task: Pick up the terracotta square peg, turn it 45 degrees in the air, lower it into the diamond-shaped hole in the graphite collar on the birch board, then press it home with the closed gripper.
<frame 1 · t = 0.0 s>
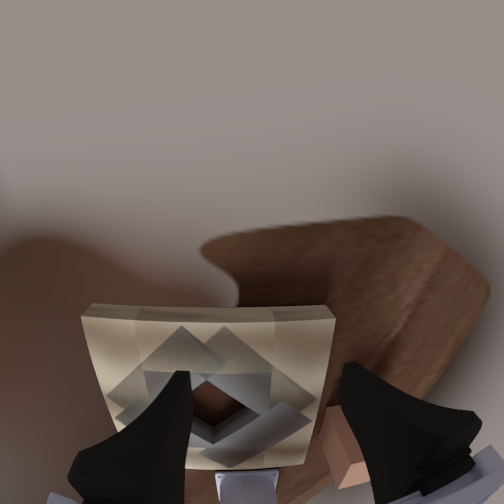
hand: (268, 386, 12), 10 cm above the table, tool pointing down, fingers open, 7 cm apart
peg: (343, 418, 26), on the table
socket board: (210, 397, 24), on the table
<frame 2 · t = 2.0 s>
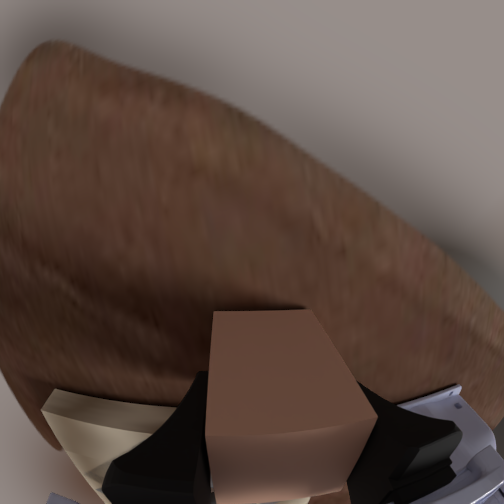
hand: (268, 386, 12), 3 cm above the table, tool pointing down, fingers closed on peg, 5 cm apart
peg: (261, 351, 15), on the table, touching gripper
socket board: (194, 477, 18), on the table
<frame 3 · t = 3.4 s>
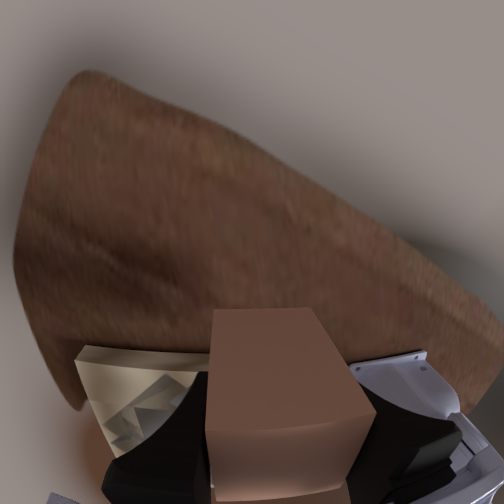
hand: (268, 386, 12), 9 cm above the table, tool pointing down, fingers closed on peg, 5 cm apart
peg: (261, 349, 15), point 6 cm above the table, touching gripper
socket board: (197, 427, 24), on the table
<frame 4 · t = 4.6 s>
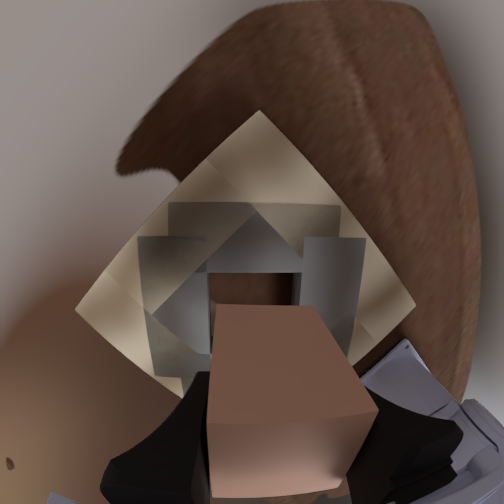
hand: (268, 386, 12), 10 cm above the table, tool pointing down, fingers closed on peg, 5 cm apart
peg: (262, 346, 15), point 7 cm above the table, touching gripper
socket board: (250, 301, 21), on the table
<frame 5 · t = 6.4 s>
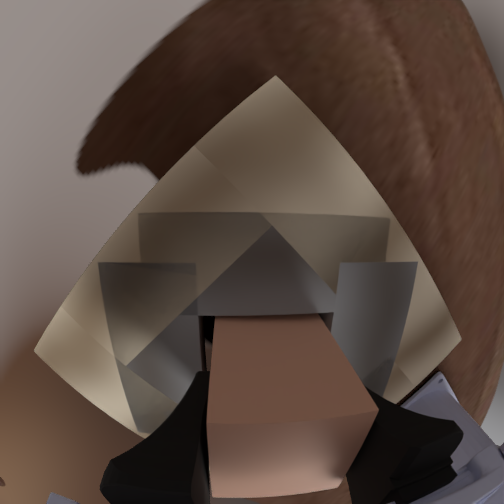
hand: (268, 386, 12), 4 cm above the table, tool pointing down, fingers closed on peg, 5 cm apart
peg: (262, 346, 15), point 1 cm above the table, touching gripper
socket board: (259, 343, 16), on the table
when the fingers open (4 cm above the table, at t = 7.5 s): peg stays where it is, resting in socket board.
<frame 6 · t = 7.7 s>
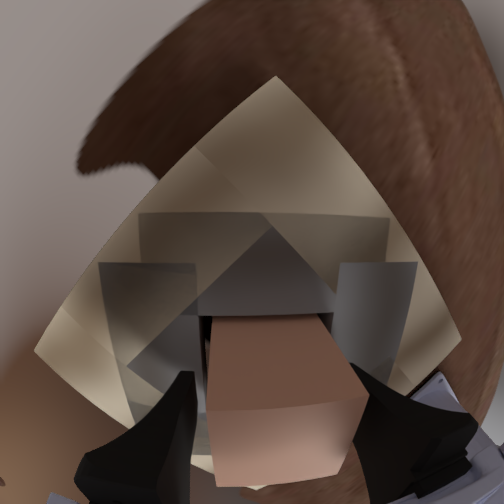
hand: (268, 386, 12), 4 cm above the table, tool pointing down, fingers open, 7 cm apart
peg: (259, 340, 16), resting in socket board
socket board: (259, 343, 16), on the table
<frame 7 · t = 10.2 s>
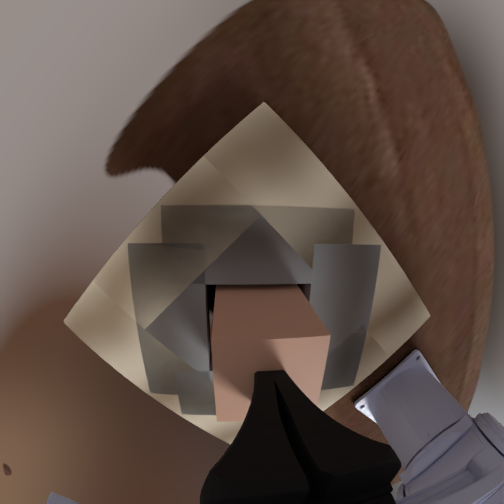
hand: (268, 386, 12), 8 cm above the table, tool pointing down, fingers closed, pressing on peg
peg: (253, 310, 20), resting in socket board, touching gripper
socket board: (254, 313, 20), on the table
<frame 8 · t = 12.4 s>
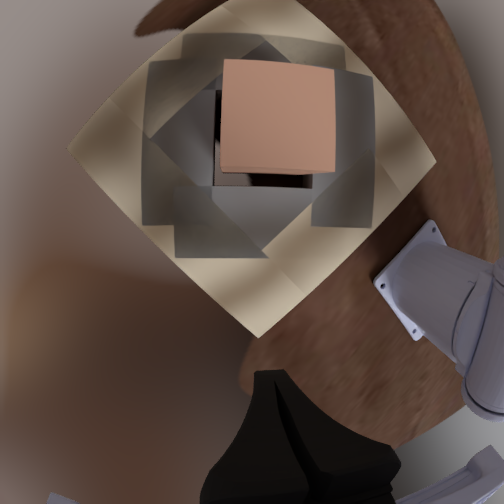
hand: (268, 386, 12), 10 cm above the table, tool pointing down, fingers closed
peg: (259, 138, 19), resting in socket board
socket board: (260, 142, 19), on the table
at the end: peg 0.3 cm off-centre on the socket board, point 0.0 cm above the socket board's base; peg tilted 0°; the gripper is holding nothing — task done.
